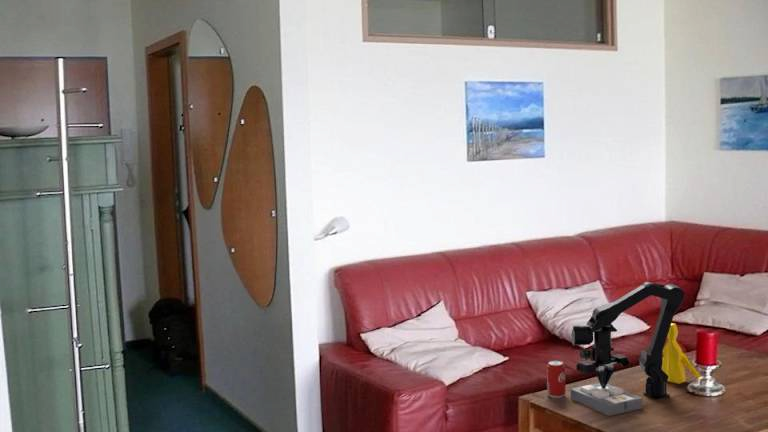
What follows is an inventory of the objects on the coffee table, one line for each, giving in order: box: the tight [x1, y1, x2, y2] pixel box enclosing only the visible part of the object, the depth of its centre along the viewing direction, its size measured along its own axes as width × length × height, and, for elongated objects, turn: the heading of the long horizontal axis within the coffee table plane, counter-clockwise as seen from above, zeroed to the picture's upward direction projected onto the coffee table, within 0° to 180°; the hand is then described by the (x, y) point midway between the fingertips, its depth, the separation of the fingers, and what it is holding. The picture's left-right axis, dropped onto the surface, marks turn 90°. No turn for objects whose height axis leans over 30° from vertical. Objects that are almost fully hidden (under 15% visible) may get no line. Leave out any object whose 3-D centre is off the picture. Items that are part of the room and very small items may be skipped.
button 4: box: [606, 386, 624, 396], centre depth 283 cm, size 4×4×2 cm
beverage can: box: [546, 360, 566, 399], centre depth 292 cm, size 6×6×12 cm
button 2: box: [592, 390, 609, 399], centre depth 281 cm, size 4×4×2 cm
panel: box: [570, 382, 643, 417], centre depth 283 cm, size 14×20×4 cm
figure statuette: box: [662, 323, 701, 385], centre depth 301 cm, size 18×8×22 cm, turn 40°
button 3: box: [596, 386, 609, 391], centre depth 289 cm, size 4×4×2 cm
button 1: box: [580, 384, 598, 394], centre depth 286 cm, size 4×4×2 cm
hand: (603, 387), depth 289 cm, fingers closed, pressing on button 3
